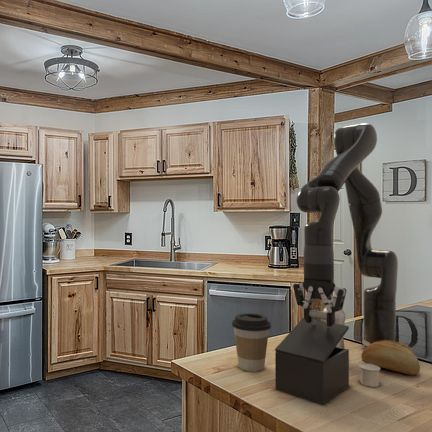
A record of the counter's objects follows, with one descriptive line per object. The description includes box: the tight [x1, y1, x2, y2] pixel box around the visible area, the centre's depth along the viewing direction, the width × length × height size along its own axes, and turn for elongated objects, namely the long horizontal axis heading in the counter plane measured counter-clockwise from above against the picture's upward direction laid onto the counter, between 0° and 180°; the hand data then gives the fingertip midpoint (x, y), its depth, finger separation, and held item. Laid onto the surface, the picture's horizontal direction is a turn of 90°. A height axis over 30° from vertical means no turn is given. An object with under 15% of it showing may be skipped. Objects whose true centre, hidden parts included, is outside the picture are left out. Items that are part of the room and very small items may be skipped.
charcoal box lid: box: [274, 309, 350, 364], centre depth 112 cm, size 16×13×5 cm
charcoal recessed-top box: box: [274, 347, 350, 406], centre depth 113 cm, size 16×13×10 cm
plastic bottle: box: [321, 295, 346, 349], centre depth 131 cm, size 6×7×20 cm
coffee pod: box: [358, 363, 381, 388], centre depth 115 cm, size 5×5×4 cm
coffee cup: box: [231, 312, 272, 373], centre depth 128 cm, size 11×11×15 cm
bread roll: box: [361, 340, 421, 376], centre depth 125 cm, size 10×15×8 cm, turn 51°
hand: (319, 323), depth 115 cm, fingers closed on charcoal box lid, 5 cm apart
